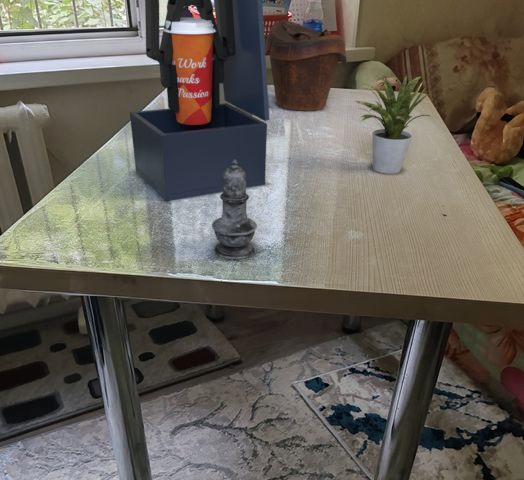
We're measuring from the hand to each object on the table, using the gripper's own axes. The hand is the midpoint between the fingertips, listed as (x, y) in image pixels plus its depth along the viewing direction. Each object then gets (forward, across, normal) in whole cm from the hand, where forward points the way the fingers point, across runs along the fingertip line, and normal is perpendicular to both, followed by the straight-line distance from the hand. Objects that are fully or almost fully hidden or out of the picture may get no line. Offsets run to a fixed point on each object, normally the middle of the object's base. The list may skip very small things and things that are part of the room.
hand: (194, 107), depth 87 cm
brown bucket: (+12, +46, +38) cm, 61 cm away
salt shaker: (+12, -6, -27) cm, 30 cm away
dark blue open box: (+12, 0, 0) cm, 12 cm away
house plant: (+12, +35, -8) cm, 38 cm away
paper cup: (+2, 0, 0) cm, 2 cm away
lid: (-8, +8, 0) cm, 11 cm away
